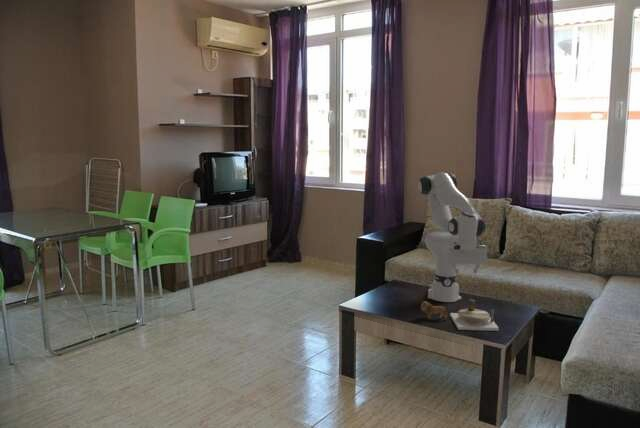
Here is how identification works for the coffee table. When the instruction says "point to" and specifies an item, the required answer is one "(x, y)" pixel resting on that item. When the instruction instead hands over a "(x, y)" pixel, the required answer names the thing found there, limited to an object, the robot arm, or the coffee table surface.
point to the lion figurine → (433, 310)
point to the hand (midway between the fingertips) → (465, 272)
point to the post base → (474, 323)
